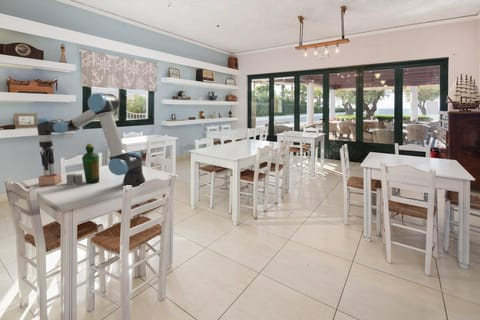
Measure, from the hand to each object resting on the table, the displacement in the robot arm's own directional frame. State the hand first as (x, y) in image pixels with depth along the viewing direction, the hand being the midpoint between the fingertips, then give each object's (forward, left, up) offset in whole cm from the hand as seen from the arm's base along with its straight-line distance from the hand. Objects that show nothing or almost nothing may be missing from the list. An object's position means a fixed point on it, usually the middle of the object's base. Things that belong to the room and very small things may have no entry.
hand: (49, 173), depth 192 cm
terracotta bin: (0, 0, -7) cm, 7 cm away
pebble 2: (-19, -3, -7) cm, 20 cm away
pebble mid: (-14, -2, -7) cm, 16 cm away
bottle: (-27, -5, -7) cm, 29 cm away
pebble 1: (0, 0, 0) cm, 0 cm away
